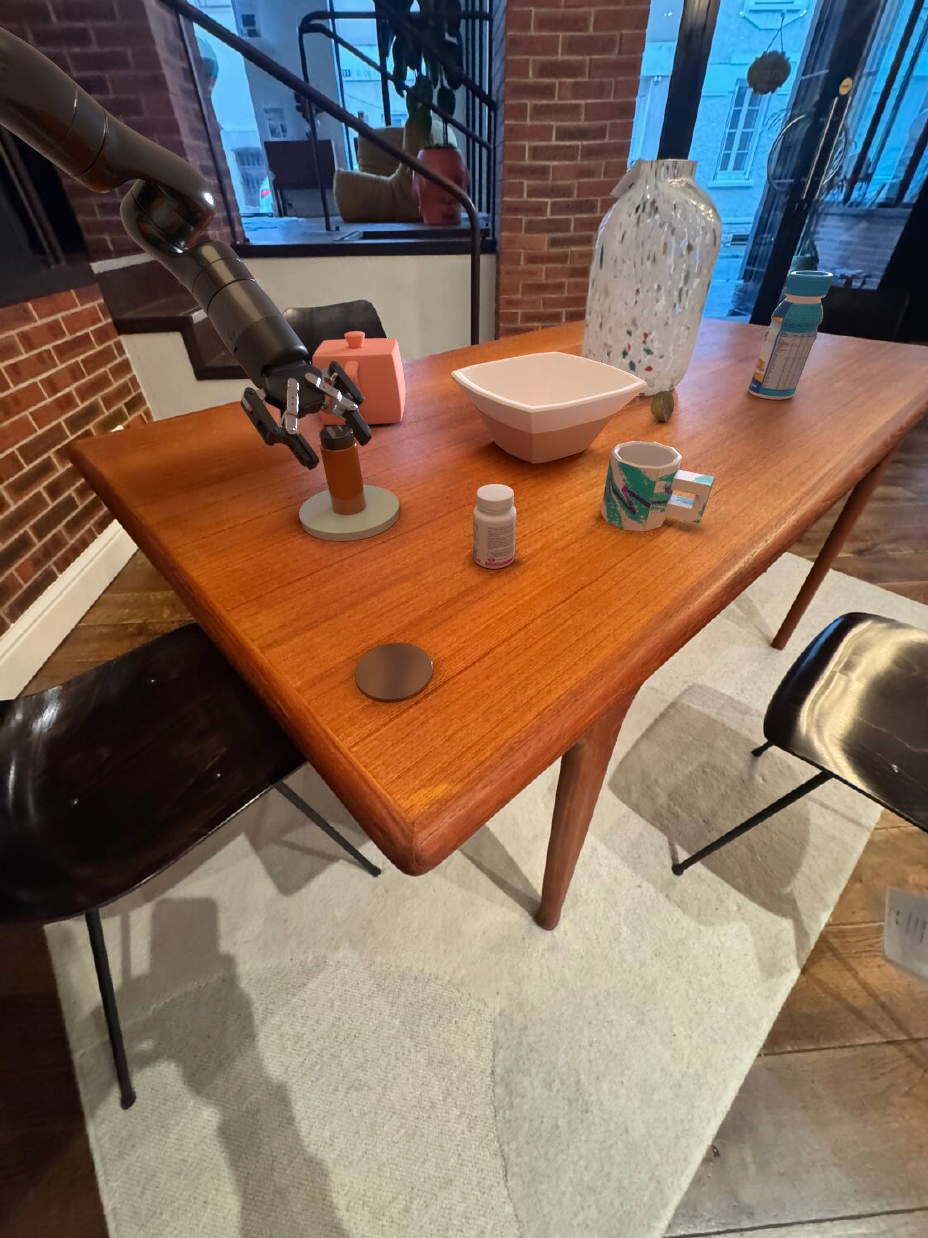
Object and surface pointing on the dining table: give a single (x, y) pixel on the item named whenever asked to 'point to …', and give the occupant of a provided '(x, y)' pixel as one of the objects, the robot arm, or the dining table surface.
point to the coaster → (393, 672)
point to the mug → (651, 487)
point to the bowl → (546, 401)
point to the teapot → (367, 375)
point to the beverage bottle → (790, 336)
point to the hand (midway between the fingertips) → (342, 453)
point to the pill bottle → (494, 526)
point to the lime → (662, 405)
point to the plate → (350, 516)
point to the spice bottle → (342, 469)
